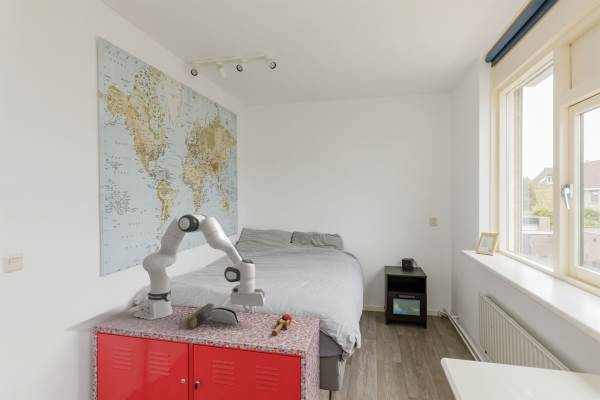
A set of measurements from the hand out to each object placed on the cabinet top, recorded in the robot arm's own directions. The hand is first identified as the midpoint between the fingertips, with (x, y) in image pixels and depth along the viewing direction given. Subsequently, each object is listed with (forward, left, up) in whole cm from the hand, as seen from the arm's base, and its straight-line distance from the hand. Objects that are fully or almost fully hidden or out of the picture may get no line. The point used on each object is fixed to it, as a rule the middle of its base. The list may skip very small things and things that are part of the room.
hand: (247, 312), depth 172 cm
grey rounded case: (-14, 0, -7) cm, 16 cm away
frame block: (-29, -1, -6) cm, 29 cm away
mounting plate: (-26, -1, -6) cm, 27 cm away
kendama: (+21, -3, -7) cm, 22 cm away
